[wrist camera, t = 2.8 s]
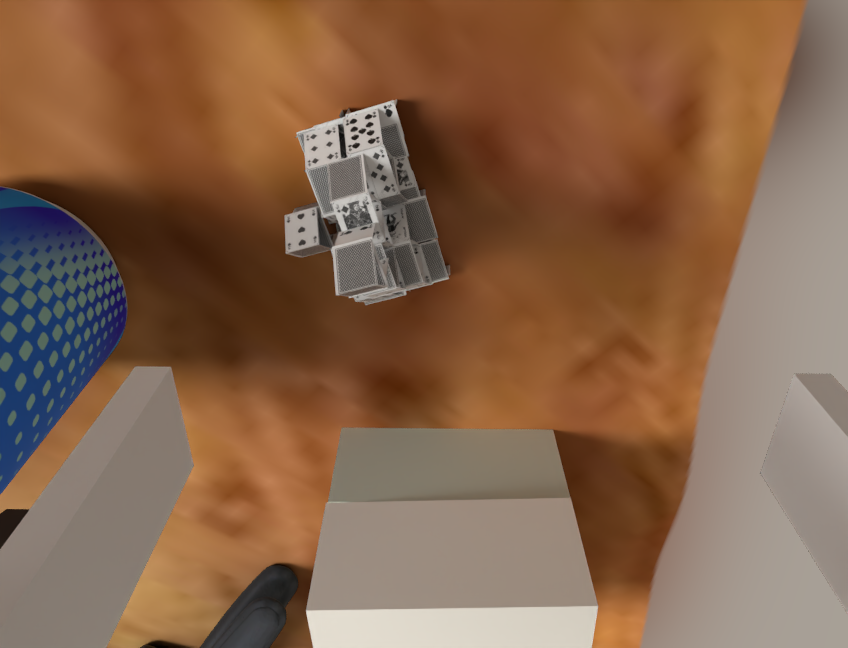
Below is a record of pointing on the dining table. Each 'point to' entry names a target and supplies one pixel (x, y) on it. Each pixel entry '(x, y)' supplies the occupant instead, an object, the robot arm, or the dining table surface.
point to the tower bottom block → (446, 465)
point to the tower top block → (451, 576)
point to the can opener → (255, 612)
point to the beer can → (49, 319)
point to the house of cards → (366, 208)
